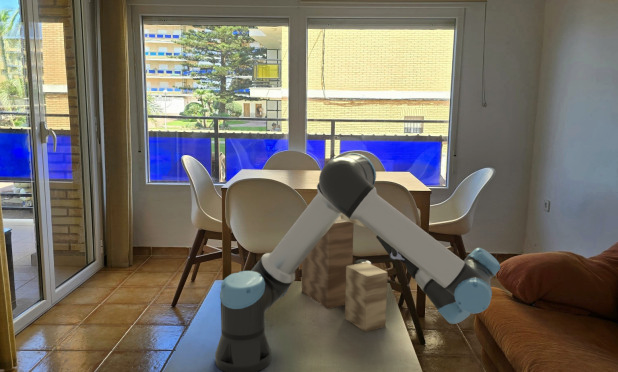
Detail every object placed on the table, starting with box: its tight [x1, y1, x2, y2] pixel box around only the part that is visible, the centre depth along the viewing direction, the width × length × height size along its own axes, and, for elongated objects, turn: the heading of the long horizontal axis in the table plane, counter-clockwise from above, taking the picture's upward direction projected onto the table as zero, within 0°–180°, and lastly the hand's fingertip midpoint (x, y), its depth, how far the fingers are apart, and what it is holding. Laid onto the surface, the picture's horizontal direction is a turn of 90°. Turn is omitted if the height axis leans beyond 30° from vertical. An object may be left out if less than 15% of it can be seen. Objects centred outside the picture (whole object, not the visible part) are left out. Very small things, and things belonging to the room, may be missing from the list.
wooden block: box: [340, 213, 370, 230], centre depth 147 cm, size 26×4×4 cm, turn 31°
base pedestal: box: [344, 262, 388, 333], centre depth 152 cm, size 11×8×18 cm
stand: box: [301, 215, 355, 310], centre depth 171 cm, size 18×10×30 cm, turn 31°
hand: (379, 214), depth 143 cm, fingers closed on wooden block, 4 cm apart
